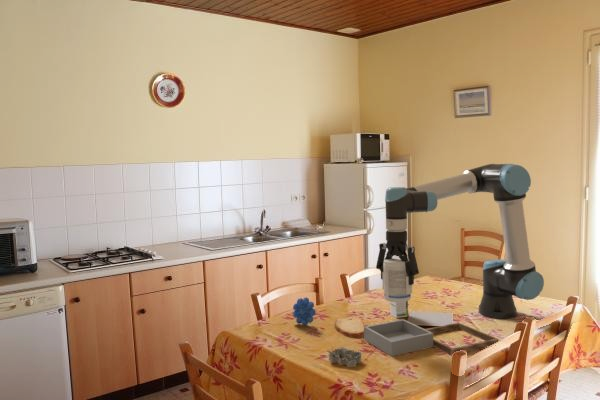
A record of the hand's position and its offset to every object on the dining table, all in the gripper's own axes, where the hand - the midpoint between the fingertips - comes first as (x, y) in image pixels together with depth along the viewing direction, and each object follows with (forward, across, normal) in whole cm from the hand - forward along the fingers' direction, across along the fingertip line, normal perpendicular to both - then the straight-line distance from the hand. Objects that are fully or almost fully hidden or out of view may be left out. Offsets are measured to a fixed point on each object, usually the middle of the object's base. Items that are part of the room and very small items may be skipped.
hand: (397, 290), depth 186 cm
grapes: (+20, -40, -8) cm, 45 cm away
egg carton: (+20, -4, -25) cm, 32 cm away
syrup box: (+20, -18, +27) cm, 38 cm away
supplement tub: (+3, 0, 0) cm, 3 cm away
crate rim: (+20, +14, +16) cm, 29 cm away
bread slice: (+20, -23, +2) cm, 31 cm away
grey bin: (+20, 0, 0) cm, 20 cm away
